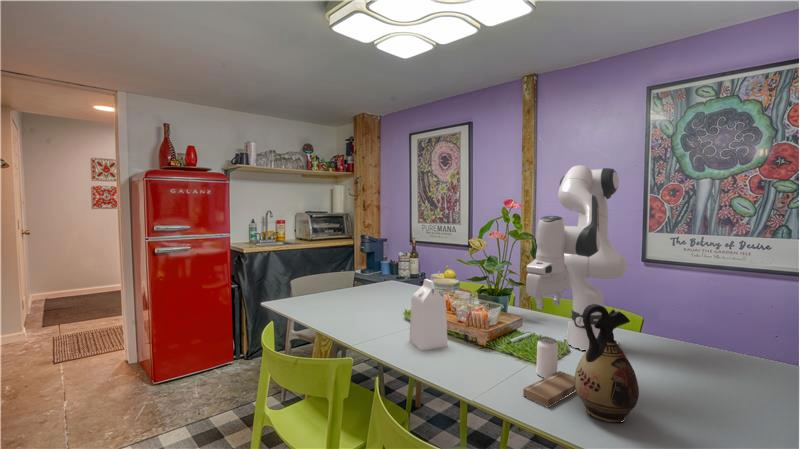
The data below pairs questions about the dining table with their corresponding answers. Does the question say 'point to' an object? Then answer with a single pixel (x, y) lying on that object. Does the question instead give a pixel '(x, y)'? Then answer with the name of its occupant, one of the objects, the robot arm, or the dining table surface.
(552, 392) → the plank
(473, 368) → the dining table surface
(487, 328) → the ammunition clip
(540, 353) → the can
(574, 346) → the robot arm
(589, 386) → the ceramic jug
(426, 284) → the milk
